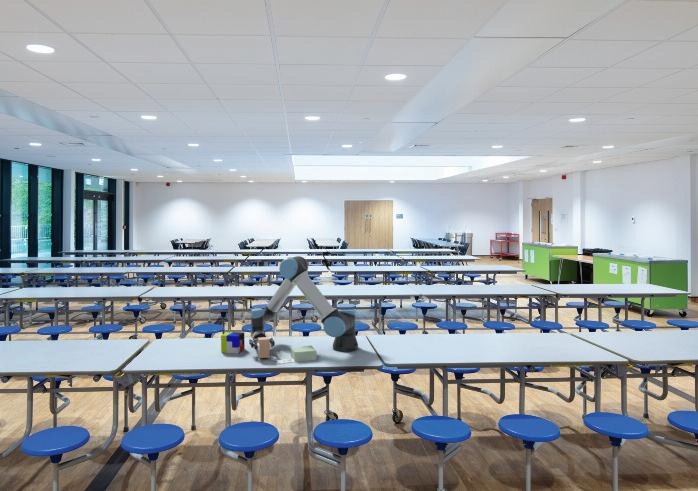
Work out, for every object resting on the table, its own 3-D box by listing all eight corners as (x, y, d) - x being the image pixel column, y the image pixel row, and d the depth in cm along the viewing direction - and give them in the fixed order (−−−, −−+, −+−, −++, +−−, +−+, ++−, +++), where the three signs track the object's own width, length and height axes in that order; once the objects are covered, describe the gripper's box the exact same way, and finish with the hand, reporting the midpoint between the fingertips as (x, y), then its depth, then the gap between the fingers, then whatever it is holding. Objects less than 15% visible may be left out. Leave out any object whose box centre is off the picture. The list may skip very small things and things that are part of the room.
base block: (311, 354, 291) (311, 345, 291) (316, 359, 280) (316, 350, 279) (290, 355, 288) (290, 347, 287) (294, 361, 276) (294, 352, 276)
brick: (268, 354, 286) (267, 337, 285) (269, 357, 280) (269, 339, 280) (258, 355, 284) (257, 337, 284) (259, 358, 279) (259, 339, 278)
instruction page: (293, 358, 282) (293, 357, 282) (297, 361, 276) (297, 361, 276) (275, 360, 278) (275, 360, 278) (279, 363, 272) (279, 363, 272)
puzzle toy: (237, 353, 293) (237, 336, 293) (221, 352, 295) (221, 335, 295) (244, 349, 303) (244, 332, 302) (228, 348, 305) (228, 331, 304)
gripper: (275, 343, 302) (282, 353, 280) (243, 346, 297) (247, 356, 275) (275, 331, 302) (281, 339, 280) (243, 333, 296) (247, 342, 274)
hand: (264, 347), depth 277 cm, fingers closed on brick, 5 cm apart
